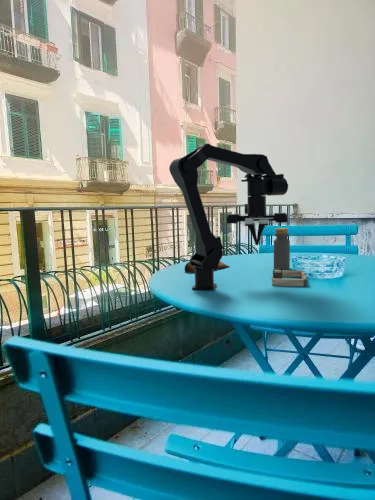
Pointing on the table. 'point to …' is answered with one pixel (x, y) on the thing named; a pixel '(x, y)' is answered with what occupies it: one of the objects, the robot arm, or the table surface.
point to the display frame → (290, 281)
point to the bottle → (281, 249)
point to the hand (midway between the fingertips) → (256, 245)
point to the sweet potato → (192, 269)
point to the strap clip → (277, 274)
